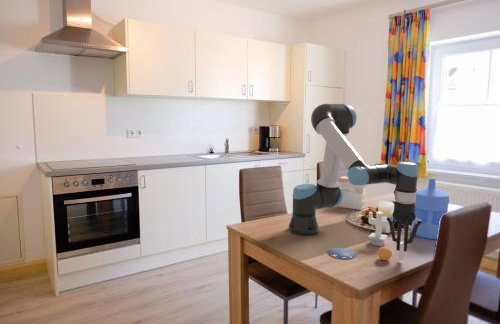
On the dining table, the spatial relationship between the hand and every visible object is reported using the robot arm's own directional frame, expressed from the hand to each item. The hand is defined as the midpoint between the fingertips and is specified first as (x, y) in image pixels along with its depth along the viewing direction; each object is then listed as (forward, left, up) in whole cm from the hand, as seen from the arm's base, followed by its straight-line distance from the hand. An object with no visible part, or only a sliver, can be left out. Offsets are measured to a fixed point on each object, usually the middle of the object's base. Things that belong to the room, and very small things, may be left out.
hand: (400, 258), depth 142 cm
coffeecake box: (-27, +79, -2) cm, 84 cm away
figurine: (-9, +18, -2) cm, 21 cm away
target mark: (-23, 0, -2) cm, 23 cm away
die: (-7, +36, -2) cm, 37 cm away
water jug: (+14, +41, -2) cm, 44 cm away
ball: (-6, 0, +1) cm, 6 cm away
